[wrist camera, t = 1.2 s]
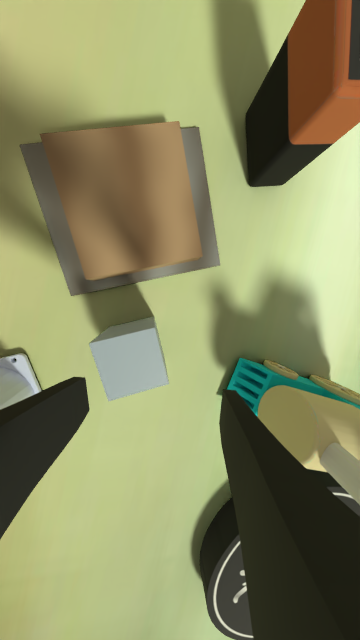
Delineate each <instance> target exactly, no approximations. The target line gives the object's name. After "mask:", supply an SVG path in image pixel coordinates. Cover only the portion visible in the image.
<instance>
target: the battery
mask: <svg viewBox="0 0 360 640" xmlns="http://www.w3.org/2000/svg"><path fill="white" fill-rule="evenodd" d="M359 122H360V0H306V1H305V3H304V5H303V7H302V9H301V11H300V13H299V15H298V17H297V18H296V20H295V22H294V24H293V26H292V28H291V30H290V32H289V34H288V35H287V37H286V39H285V41H284V43H283V45H282V47H281V49H280V51H279V53H278V54H277V56H276V58H275V60H274V62H273V64H272V66H271V68H270V70H269V72H268V73H267V75H266V77H265V79H264V81H263V83H262V85H261V87H260V89H259V90H258V92H257V94H256V96H255V98H254V100H253V102H252V104H251V106H250V108H249V109H248V111H247V114H246V133H247V154H248V174H249V185H250V186H251V187H259V186H277V185H283V184H285V183H286V182H287V181H288V180H290V179H291V178H292V177H293V176H294V175H296V174H297V173H298V172H299V171H301V170H302V169H303V168H304V167H305V166H307V165H308V164H309V163H310V162H312V161H313V160H314V159H315V158H316V157H318V156H319V155H320V154H321V153H323V152H324V151H325V150H326V149H327V148H329V147H330V146H331V145H332V144H334V143H335V142H336V141H337V140H338V139H340V138H341V137H342V136H343V135H345V134H346V133H347V132H348V131H349V130H351V129H352V128H353V127H354V126H356V125H357V124H358V123H359Z"/></svg>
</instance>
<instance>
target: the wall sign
mask: <svg viewBox="0 0 360 640" xmlns="http://www.w3.org/2000/svg"><path fill="white" fill-rule="evenodd" d="M307 470H308V471H309V472H310V473H312V474H313V475H314V476H315V477H316V478H317V479H318V480H319V481H320V482H321V483H322V484H323V485H324V486H325V487H326V488H328V489H329V490H330V491H331V492H332V493H333V494H334V495H335V496H337V497H338V498H339V499H340V500H341V501H342V502H343V503H345V504H346V505H347V506H348V507H349V508H350V509H351V510H353V511H354V512H355V513H356V514H357V515H358V516H360V505H359V504H358V503H357V502H356V500H355V499H354V498H353V497H352V496H351V495H350V494H349V493H348V492H347V491H346V490H345V489H344V488H343V487H342V486H341V485H340V484H339V483H338V482H337V481H336V480H335V479H334V478H333V477H332V476H331V475H330V474H329V473H328V472H323V471H317V470H311V469H307ZM200 569H201V575H202V581H203V586H204V592H205V598H206V604H207V609H208V614H209V616H210V619H211V621H212V623H213V624H214V625H215V627H216V628H217V629H218V630H219V631H220V632H221V633H223V634H224V635H226V636H228V637H230V638H232V639H235V640H253V633H252V625H251V617H250V610H249V602H248V595H247V587H246V580H245V572H244V565H243V558H242V551H241V543H240V536H239V529H238V524H237V518H236V512H235V507H234V503H233V498H232V497H231V498H230V499H229V500H228V501H227V502H226V504H225V505H224V506H223V507H222V508H221V509H220V511H219V512H218V513H217V515H216V516H215V518H214V519H213V521H212V523H211V524H210V526H209V528H208V530H207V532H206V534H205V537H204V540H203V543H202V547H201V551H200Z"/></svg>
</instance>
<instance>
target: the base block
mask: <svg viewBox="0 0 360 640" xmlns="http://www.w3.org/2000/svg"><path fill="white" fill-rule="evenodd" d="M40 136H41V139H42V143H31V144H21V145H20V148H21V151H22V154H23V157H24V160H25V163H26V165H27V168H28V171H29V174H30V177H31V180H32V183H33V186H34V189H35V192H36V195H37V198H38V201H39V204H40V207H41V209H42V212H43V215H44V218H45V221H46V224H47V227H48V230H49V233H50V236H51V239H52V242H53V245H54V248H55V250H56V253H57V256H58V259H59V262H60V265H61V268H62V271H63V274H64V277H65V280H66V283H67V286H68V289H69V292H70V294H71V296H74V295H79V294H84V293H89V292H94V291H98V290H103V289H108V288H113V287H118V286H123V285H127V284H132V283H137V282H142V281H147V280H152V279H156V278H161V277H166V276H171V275H176V274H181V273H185V272H190V271H195V270H200V269H205V268H209V267H214V266H219V265H220V260H219V254H218V247H217V241H216V234H215V228H214V221H213V215H212V209H211V202H210V196H209V189H208V183H207V177H206V170H205V164H204V157H203V151H202V145H201V138H200V132H199V127H195V128H185V129H181V128H180V123H179V121H175V122H164V123H153V124H142V125H131V126H120V127H109V128H98V129H87V130H77V131H66V132H55V133H44V134H40Z"/></svg>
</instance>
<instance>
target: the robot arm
mask: <svg viewBox="0 0 360 640" xmlns="http://www.w3.org/2000/svg"><path fill="white" fill-rule="evenodd" d="M14 358H15V359H16V360H17V361H15V360H14ZM88 412H89V403H88V395H87V387H86V380H85V378H82V377H73V378H70V379H67V380H65V381H63V382H60V383H58V384H56V385H54V386H52V387H49V388H47V389H45V390H43V391H41V388H40V386H39V384H38V381H37V379H36V376H35V374H34V372H33V369H32V367H31V365H30V362H29V360H28V358H27V356H26V355H25V354H23V353H19V354H15V355H11V356H7V357H2V358H0V539H1V537H2V536H3V534H4V533H5V531H6V530H7V528H8V527H9V525H10V523H11V522H12V520H13V519H14V517H15V516H16V514H17V513H18V511H19V510H20V508H21V507H22V505H23V504H24V502H25V501H26V499H27V498H28V496H29V495H30V493H31V492H32V491H33V489H34V488H35V486H36V485H37V484H38V482H39V481H40V480H41V478H42V477H43V476H44V474H45V473H46V472H47V470H48V469H49V468H50V466H51V465H52V464H53V462H54V461H55V460H56V458H57V457H58V456H59V454H60V453H61V452H62V450H63V449H64V448H65V446H66V445H67V444H68V442H69V441H70V440H71V438H72V437H73V436H74V434H75V433H76V432H77V430H78V429H79V427H80V425H81V424H82V422H83V420H84V419H85V417H86V415H87V413H88ZM219 424H220V434H221V443H222V449H223V454H224V459H225V464H226V469H227V474H228V479H229V483H230V488H231V493H232V498H233V503H234V507H235V512H236V518H237V524H238V529H239V536H240V543H241V551H242V558H243V565H244V572H245V580H246V587H247V595H248V602H249V610H250V617H251V625H252V633H253V640H360V516H358V515H357V514H356V513H355V512H354V511H353V510H351V509H350V508H349V507H348V506H347V505H346V504H345V503H343V502H342V501H341V500H340V499H339V498H338V497H337V496H335V495H334V494H333V493H332V492H331V491H330V490H329V489H328V488H326V487H325V486H324V485H323V484H322V483H321V482H320V481H319V480H318V479H317V478H316V477H315V476H314V475H313V474H312V473H310V472H309V471H308V470H307V469H306V468H305V467H304V466H303V465H302V464H301V463H300V462H299V461H298V460H297V459H296V458H295V457H294V456H293V455H292V454H291V453H290V452H289V451H288V450H287V449H286V448H285V447H284V446H283V445H282V444H281V443H280V442H279V441H278V440H277V438H276V437H275V436H274V435H273V434H272V433H271V432H270V431H269V430H268V428H267V427H266V426H265V425H264V424H263V423H262V422H261V420H260V419H259V418H258V417H257V416H256V415H255V413H254V412H253V411H252V410H251V409H250V407H249V406H248V405H247V404H246V402H245V401H244V400H243V399H242V397H241V396H240V395H239V394H238V392H237V391H236V390H226V389H223V395H222V404H221V413H220V422H219Z"/></svg>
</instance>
